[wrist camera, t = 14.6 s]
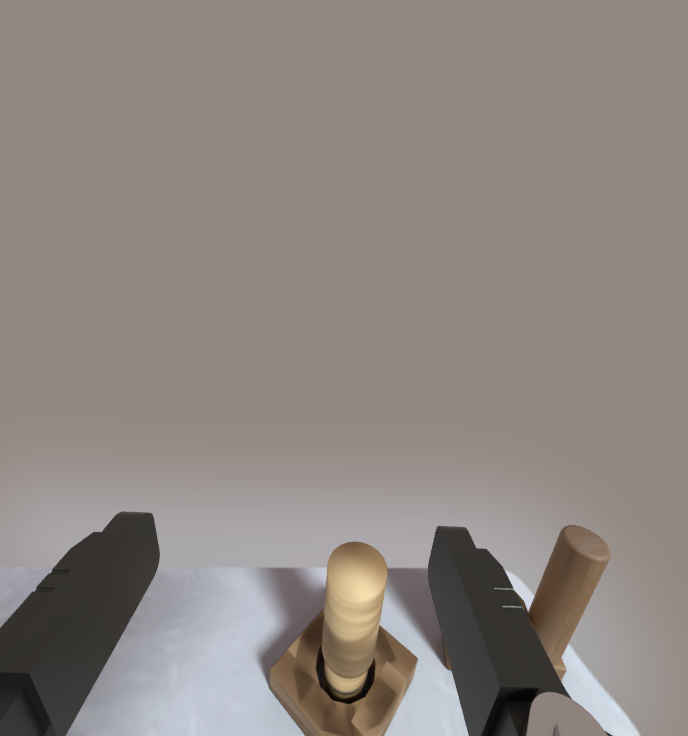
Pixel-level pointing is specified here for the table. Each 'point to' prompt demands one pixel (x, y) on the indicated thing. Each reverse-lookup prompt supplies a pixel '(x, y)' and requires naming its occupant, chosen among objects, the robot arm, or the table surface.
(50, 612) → the robot arm
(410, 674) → the square wooden ring
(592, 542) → the wooden block
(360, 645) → the oak leg
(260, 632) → the table surface
